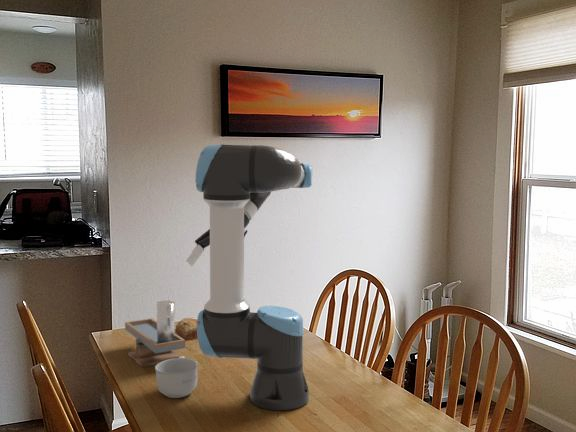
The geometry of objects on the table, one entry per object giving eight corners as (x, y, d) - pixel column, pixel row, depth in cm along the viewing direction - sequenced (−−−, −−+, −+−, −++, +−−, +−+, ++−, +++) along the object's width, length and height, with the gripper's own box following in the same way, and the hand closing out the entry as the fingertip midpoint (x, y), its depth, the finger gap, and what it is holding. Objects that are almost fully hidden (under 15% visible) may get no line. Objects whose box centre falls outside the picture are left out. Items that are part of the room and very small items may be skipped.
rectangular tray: (188, 349, 176) (188, 339, 176) (152, 356, 170) (152, 345, 170) (155, 326, 198) (155, 317, 197) (122, 331, 192) (122, 322, 191)
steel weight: (177, 344, 175) (177, 303, 174) (161, 346, 173) (160, 305, 171) (170, 339, 180) (170, 299, 178) (154, 342, 177) (154, 302, 175)
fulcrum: (180, 359, 183) (180, 343, 182) (141, 367, 176) (141, 350, 176) (164, 348, 193) (164, 333, 192) (128, 355, 186) (127, 339, 186)
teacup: (188, 404, 151) (188, 373, 151) (148, 399, 154) (148, 369, 153) (207, 383, 165) (207, 354, 164) (169, 379, 167) (169, 351, 166)
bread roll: (177, 342, 211) (168, 322, 209) (204, 328, 213) (194, 308, 212) (182, 351, 202) (171, 331, 200) (209, 336, 204) (199, 316, 202)
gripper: (273, 226, 186) (234, 280, 177) (222, 218, 204) (185, 268, 195) (260, 209, 182) (220, 265, 173) (210, 203, 199) (171, 253, 191)
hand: (202, 266), depth 184 cm, fingers open, 13 cm apart
